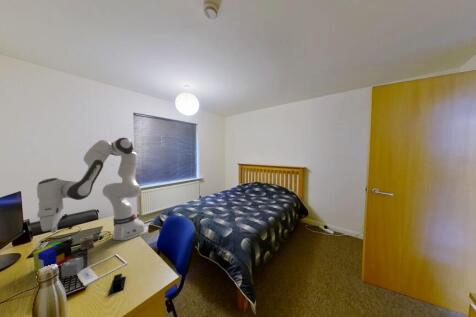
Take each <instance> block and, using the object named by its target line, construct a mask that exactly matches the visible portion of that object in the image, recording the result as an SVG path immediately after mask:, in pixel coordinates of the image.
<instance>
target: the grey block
mask: <svg viewBox="0 0 476 317" xmlns="http://www.w3.org/2000/svg"><path fill="white" fill-rule="evenodd" d="M84 266H85V264H84V256H81V257H76V258H72V259H69V260H68V261H67V262H66V263H65V264H64V265H63V266H61V267H60V269H61V270H60V271H61V278H62V277H65V276H72V277H74V276H73V275H77V274H78V273H79V272H80V271H81V270H82V269H84V268H85V267H84ZM83 267H84V268H83Z"/></svg>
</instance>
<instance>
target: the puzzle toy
mask: <svg viewBox="0 0 476 317" xmlns="http://www.w3.org/2000/svg"><path fill="white" fill-rule="evenodd" d="M32 255H33V265H34V271H35V272H39V271H38V270H39V269H41V268H43V267H45V266H48V265H51V264H57V265H60V264H62V263H64V262H67V261H68V260H69V259H73V256H72V255H73V254H72V243H71V242H70V243H68V242H60V241H57V242H54V243H52V244H49V245H47V246H45V247H42V248H40V249H39V250H36V251H34V252H32Z"/></svg>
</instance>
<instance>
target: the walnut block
mask: <svg viewBox="0 0 476 317" xmlns="http://www.w3.org/2000/svg"><path fill="white" fill-rule="evenodd" d="M79 241H80V251H81V250H83V249H86V250H88V249H92V248H95V244H94V235H93V234H90V235H87V236H84V237H80V240H79ZM83 251H84V250H83Z"/></svg>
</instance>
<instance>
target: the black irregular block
mask: <svg viewBox="0 0 476 317" xmlns="http://www.w3.org/2000/svg"><path fill="white" fill-rule="evenodd" d="M126 278H127V276H123V273H119V274H115V275H113V280H112V281H111V283H110V284H111V285H110V288H109V292H108V295H107V296H111V295H114V294H117V293H120V292H122V291H124V290H125V285H126Z"/></svg>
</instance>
